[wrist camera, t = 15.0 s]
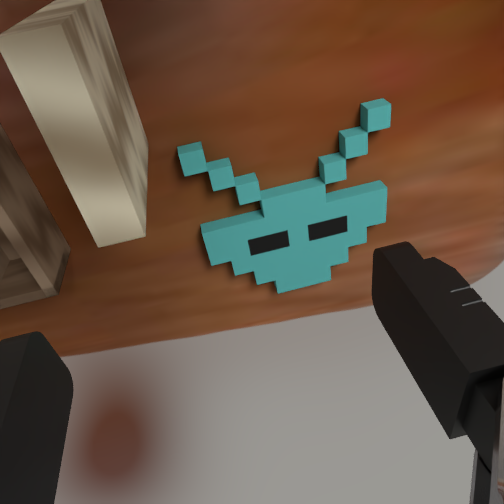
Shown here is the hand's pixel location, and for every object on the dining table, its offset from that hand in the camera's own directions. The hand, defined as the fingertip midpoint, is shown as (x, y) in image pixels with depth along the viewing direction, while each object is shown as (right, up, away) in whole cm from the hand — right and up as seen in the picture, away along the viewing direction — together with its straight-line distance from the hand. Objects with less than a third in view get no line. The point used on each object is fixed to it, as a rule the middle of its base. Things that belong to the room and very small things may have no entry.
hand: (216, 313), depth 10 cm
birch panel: (-11, +16, +24) cm, 31 cm away
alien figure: (+5, +6, +36) cm, 36 cm away
